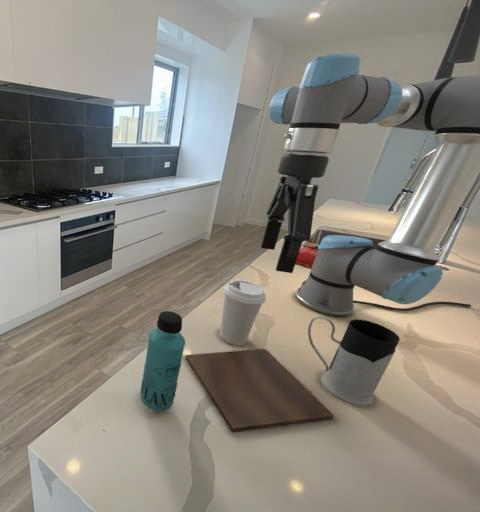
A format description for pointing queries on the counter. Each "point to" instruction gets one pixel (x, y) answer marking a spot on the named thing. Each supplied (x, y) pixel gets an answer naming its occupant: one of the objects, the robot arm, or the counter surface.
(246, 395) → the walnut board
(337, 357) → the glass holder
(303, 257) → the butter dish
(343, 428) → the counter surface
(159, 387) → the beverage bottle
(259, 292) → the coffee cup
